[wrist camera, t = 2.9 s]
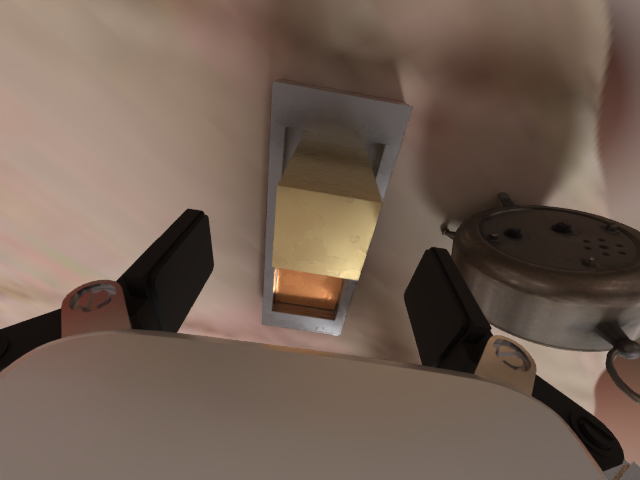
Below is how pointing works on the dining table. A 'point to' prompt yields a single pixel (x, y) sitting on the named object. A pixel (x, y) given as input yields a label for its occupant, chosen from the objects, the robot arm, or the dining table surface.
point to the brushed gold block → (325, 211)
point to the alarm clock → (555, 278)
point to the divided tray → (285, 133)
